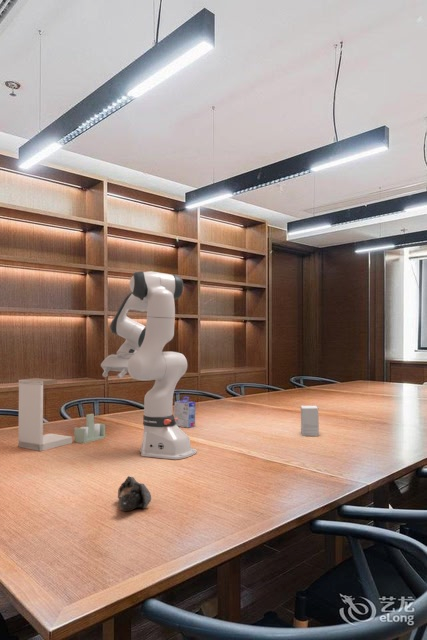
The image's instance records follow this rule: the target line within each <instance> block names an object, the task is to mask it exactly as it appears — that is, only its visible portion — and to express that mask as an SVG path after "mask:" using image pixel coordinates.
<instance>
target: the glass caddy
mask: <svg viewBox="0 0 427 640" xmlns="http://www.w3.org/2000/svg"><path fill="white" fill-rule="evenodd" d="M85 417H86V418H85V419H86V420H85V425H86V426H80V427H77V426H76V427H74V443H79V444H89V443H91V442H92V443H93V442H95V441H99V440H103V439H105V438H106V424H104V423H99V422H95V414H94V413H90V414H89V413H88V414H86V415H85Z"/></svg>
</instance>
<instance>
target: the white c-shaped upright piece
mask: <svg viewBox="0 0 427 640" xmlns="http://www.w3.org/2000/svg"><path fill="white" fill-rule="evenodd" d="M55 384H58V379H53V378H38V377H34V378H33V377H32V378H22V379H18V448H23V449H29V450H33V451H37V452H43V451H46V450H50V449H51V450H52V449H54V448H58V447H61V446H66V445H70V444H73V436H69V435H62V434H56V433H52V432H51V433H47V434H44V386H46V385H55Z"/></svg>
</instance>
